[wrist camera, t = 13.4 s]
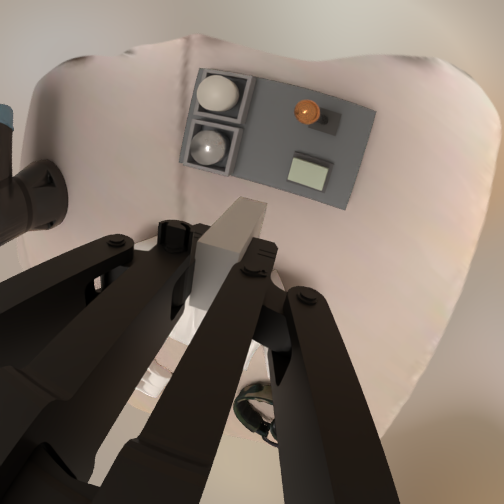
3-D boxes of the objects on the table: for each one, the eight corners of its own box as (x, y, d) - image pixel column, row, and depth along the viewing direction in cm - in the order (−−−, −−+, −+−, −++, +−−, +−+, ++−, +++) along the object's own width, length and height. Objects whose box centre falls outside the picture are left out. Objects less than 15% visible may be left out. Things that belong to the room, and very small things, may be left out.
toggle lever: (312, 127, 34) (287, 119, 27) (317, 108, 33) (294, 94, 25) (331, 133, 33) (312, 126, 26) (337, 113, 32) (319, 101, 25)
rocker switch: (289, 178, 37) (287, 179, 36) (295, 157, 36) (293, 157, 35) (322, 189, 36) (321, 190, 35) (329, 168, 35) (328, 169, 34)
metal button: (196, 158, 39) (187, 160, 36) (202, 127, 37) (193, 127, 34) (226, 165, 38) (218, 168, 36) (233, 134, 37) (226, 134, 34)
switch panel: (187, 159, 43) (170, 164, 38) (206, 71, 37) (192, 64, 32) (343, 204, 41) (346, 215, 36) (372, 112, 35) (380, 110, 30)
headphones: (337, 411, 50) (244, 374, 55) (308, 468, 46) (216, 431, 51) (327, 403, 62) (250, 373, 67) (303, 450, 58) (227, 420, 63)
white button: (202, 108, 34) (193, 107, 32) (210, 76, 32) (201, 72, 30) (234, 114, 34) (227, 113, 31) (243, 82, 32) (236, 78, 29)
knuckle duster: (156, 396, 70) (111, 366, 69) (179, 365, 62) (126, 329, 62) (151, 405, 67) (105, 373, 66) (173, 375, 59) (118, 337, 58)
